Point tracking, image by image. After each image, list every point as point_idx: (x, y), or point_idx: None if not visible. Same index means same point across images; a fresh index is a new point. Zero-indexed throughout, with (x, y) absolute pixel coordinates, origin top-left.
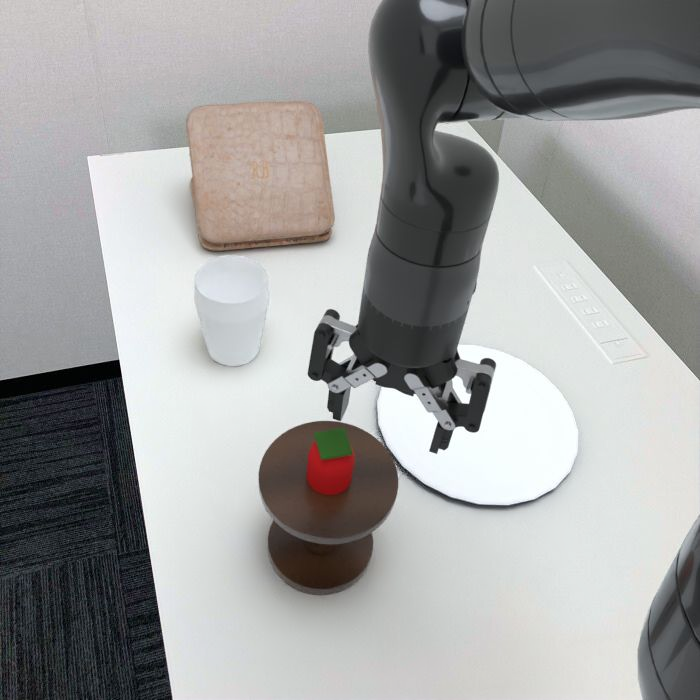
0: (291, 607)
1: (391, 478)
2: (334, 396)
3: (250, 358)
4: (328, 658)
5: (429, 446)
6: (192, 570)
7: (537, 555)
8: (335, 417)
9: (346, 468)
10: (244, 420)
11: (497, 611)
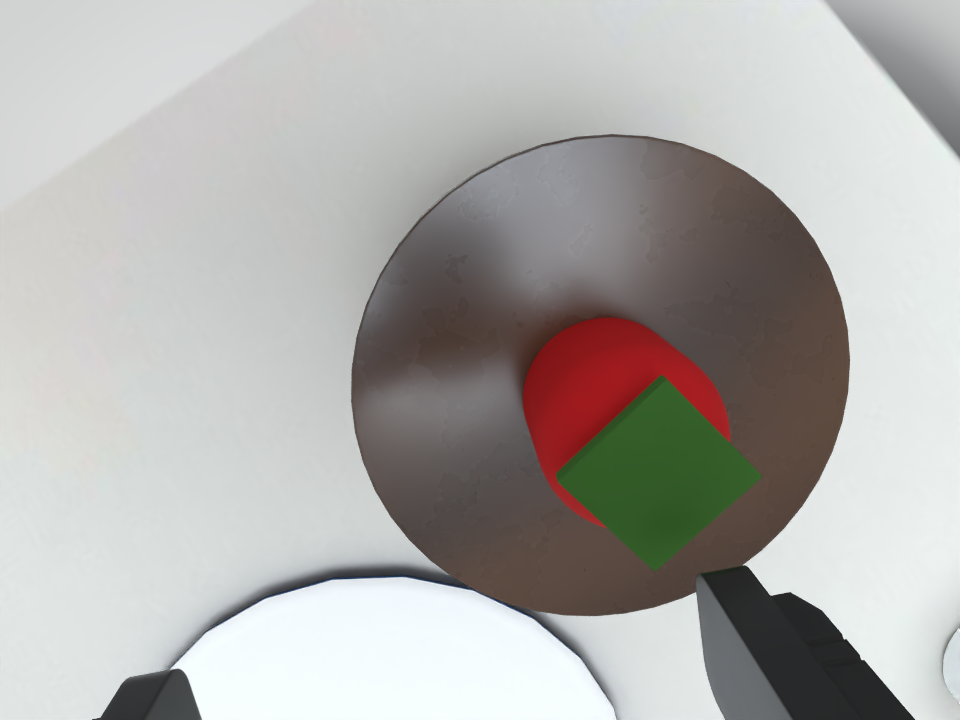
0: (517, 130)
1: (410, 504)
2: (846, 701)
3: (956, 651)
4: (376, 67)
5: (445, 669)
6: (777, 79)
7: (96, 556)
8: (737, 577)
9: (550, 418)
10: (875, 495)
11: (104, 386)
